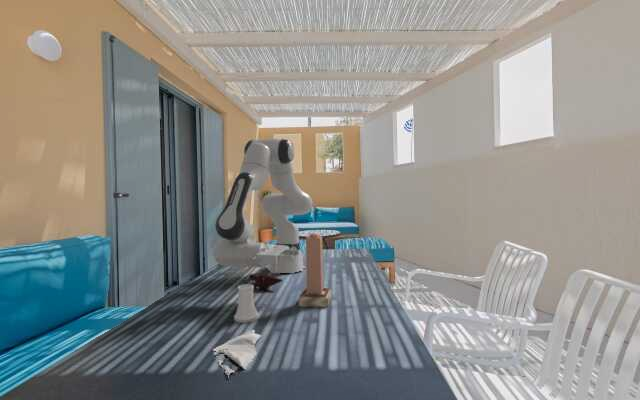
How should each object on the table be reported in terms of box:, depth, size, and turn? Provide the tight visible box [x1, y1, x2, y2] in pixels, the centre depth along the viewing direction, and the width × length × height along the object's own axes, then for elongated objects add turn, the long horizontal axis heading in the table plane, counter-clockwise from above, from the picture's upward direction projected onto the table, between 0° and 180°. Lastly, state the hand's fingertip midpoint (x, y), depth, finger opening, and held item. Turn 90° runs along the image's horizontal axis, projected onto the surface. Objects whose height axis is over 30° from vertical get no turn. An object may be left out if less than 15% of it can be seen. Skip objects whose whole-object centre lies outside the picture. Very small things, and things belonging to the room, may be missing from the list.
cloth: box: [212, 329, 262, 378], centre depth 84 cm, size 26×14×2 cm, turn 167°
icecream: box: [248, 272, 283, 291], centre depth 139 cm, size 7×7×15 cm
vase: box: [233, 283, 260, 323], centre depth 106 cm, size 8×8×10 cm
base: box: [298, 287, 332, 308], centre depth 121 cm, size 10×10×4 cm
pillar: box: [305, 233, 324, 294], centre depth 121 cm, size 5×5×21 cm
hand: (295, 255), depth 122 cm, fingers open, 8 cm apart
